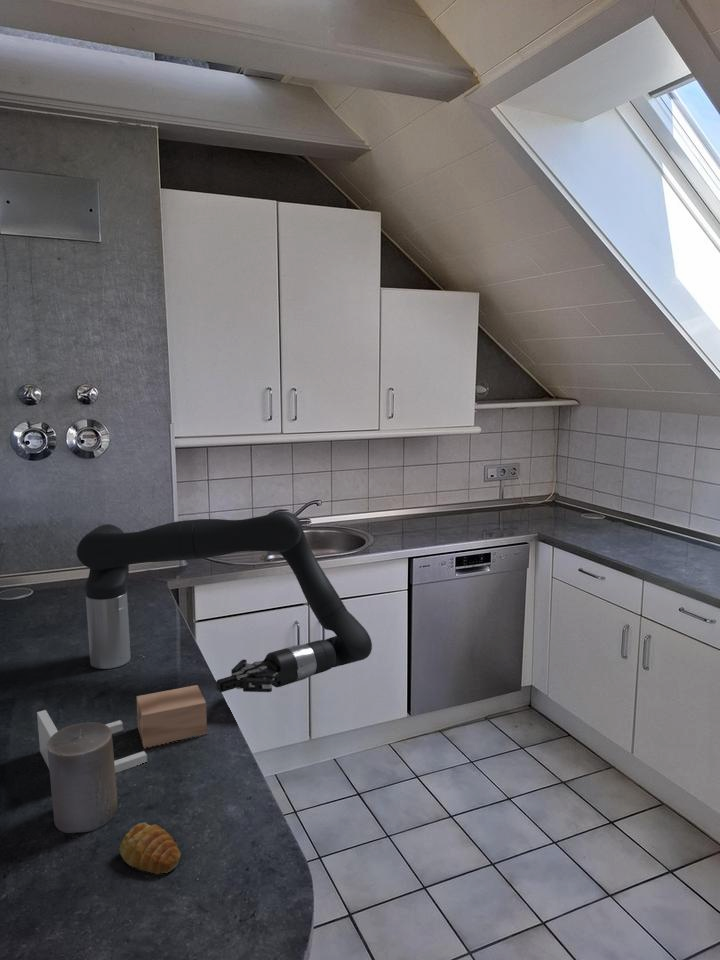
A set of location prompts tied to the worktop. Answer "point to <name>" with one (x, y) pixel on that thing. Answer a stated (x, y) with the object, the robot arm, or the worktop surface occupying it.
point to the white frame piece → (49, 729)
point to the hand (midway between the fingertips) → (217, 686)
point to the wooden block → (171, 715)
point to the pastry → (150, 849)
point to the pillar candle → (82, 777)
